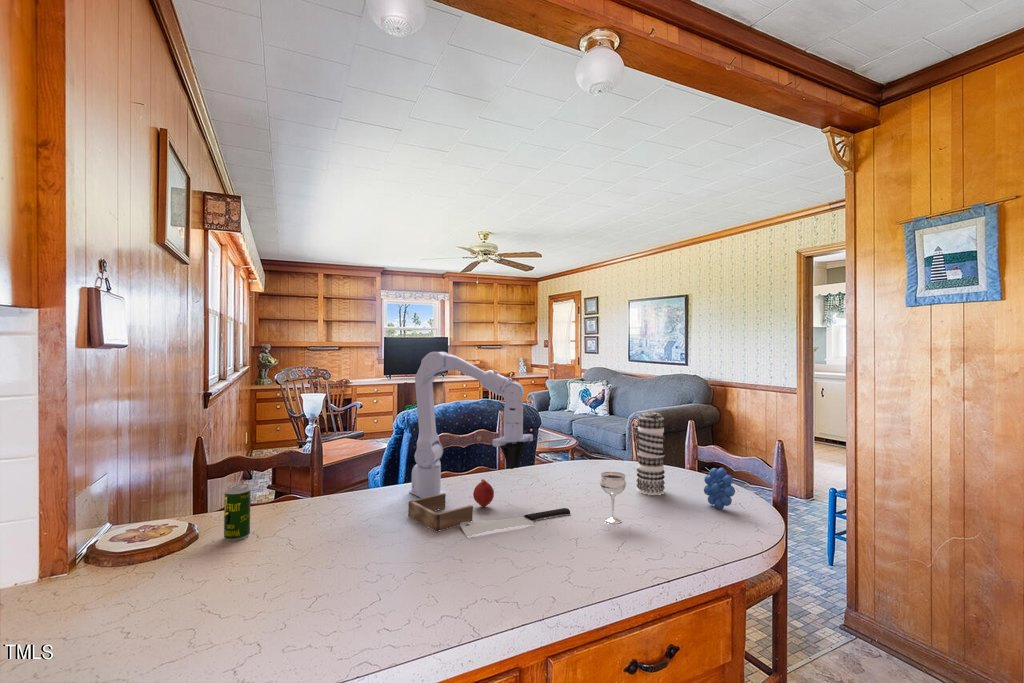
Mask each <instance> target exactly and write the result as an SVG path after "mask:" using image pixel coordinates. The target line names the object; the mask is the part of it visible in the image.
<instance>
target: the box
mask: <svg viewBox="0 0 1024 683" xmlns="http://www.w3.org/2000/svg"><path fill="white" fill-rule="evenodd" d="M473 506H474V505H472V504H469V505H466V506H465V505H464V506H462V507H459V508H454V509H450V510H446V511H441V512H439V513H438V512H437V511H439V510H438V509H440V510H443V508H444V509H446V494H444V493H442V494H438V495H433V496H429V497H425V498H420V497H419V498H418V499H413V500H412V499H411V500H409V501H408V515H407V516H408V517H409V518H411V519H413V520H415V521H416V522H417V523H420V524H421V523H422V524H421V525H424V526H425V527H427V528H428V527H429V529H430V528H431V529H430V530H432V529H433V530H432V531H434V530H435V531H434V532H436V531H437V532H440V531H439V530H441V531H444V530H447V528H448V529H451V528H454V526H455V527H458V526H460V523H461V522H471V521H472V522H473V516H474V515H473V512H474V510H473V508H474V507H473ZM435 510H436V511H435ZM457 525H458V526H457ZM450 527H451V528H450ZM443 529H444V530H443Z"/></svg>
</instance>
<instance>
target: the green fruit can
mask: <svg viewBox="0 0 1024 683" xmlns="http://www.w3.org/2000/svg"><path fill="white" fill-rule="evenodd" d="M251 490H252V489H251V486H250V484H249V483H235V484H230V485H228V486H226V487H225V491H224V500H223V501H224V506H223V508H224V509H223V512H224V514H223V518H224V519H223V538H224V540H225V541H226V540H227V542H231V541H232V542H239V541H243V540H245V539H247V538H248V537H249V536H250V535H251V534H250V533H251V497H252V496H251V492H252V491H251Z"/></svg>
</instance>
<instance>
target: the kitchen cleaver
mask: <svg viewBox="0 0 1024 683" xmlns="http://www.w3.org/2000/svg"><path fill="white" fill-rule="evenodd" d="M562 515H568V516H570V515H571V511H570V509H569V508H567V507H562V508H561V507H560V508H555V509H551V510H545V511H544V510H543V511H539V512H532V513H527V514H524V515H523V516H517V517H509V518H504V519H503V518H501V519H495V520H481V521H479V520H478V521H472V522H461V523H460V525H459V526H460V528H461V530H462V532H463V534H464V535H465V536H466V537H467V536H469V537H470V536H472V535H474V534H479V533H483V532H486V531H493V530H495V529H504V528H508V527H515V526H521V525H525V526H526V525H532V524H535V522H536V520H537V521H541V520H540V519H542V520H545V519H544V518H548V519H550V518H549V517H553V518H556V517H555V516H559V517H563V516H562ZM533 521H535V522H533Z"/></svg>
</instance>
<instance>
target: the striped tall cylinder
mask: <svg viewBox="0 0 1024 683" xmlns="http://www.w3.org/2000/svg"><path fill="white" fill-rule="evenodd" d="M664 419H665V418H664V417H663V416H662V414H661V413H659V412H655V411H653V412H652V411H644V412H641V413H640V416H638V426H637V429H635V432H636V434H635V436H636V438H637V439H636V441H635V442H636V444H637V445H636V446H635V447H636V449H637V451H636V454H637V456H638V460H637V461H638V463H637V468H636V471H637V473H636V476H637V479H636V482H637V483H636V487H637V489H636V491H637V493H639V492H640V493H639V494H641V493H644V494H649V495H648V496H650V495H659V496H661V495H660V494H663V495H664V494H665V489H666V487H665V484H666V482H665V480H664V479H665V478H666V476H665V475H664V474H665V472H666V471H665V470H664V469H665V468H664V466H665V465H664V457H665V455H666V453H665V450H666V447H664V445H665V444H666V443H667V442H666V441H665V440H666V439H667V438H666V437H667V436H665V435H664V433H665V427H664ZM644 494H643V495H644Z"/></svg>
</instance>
